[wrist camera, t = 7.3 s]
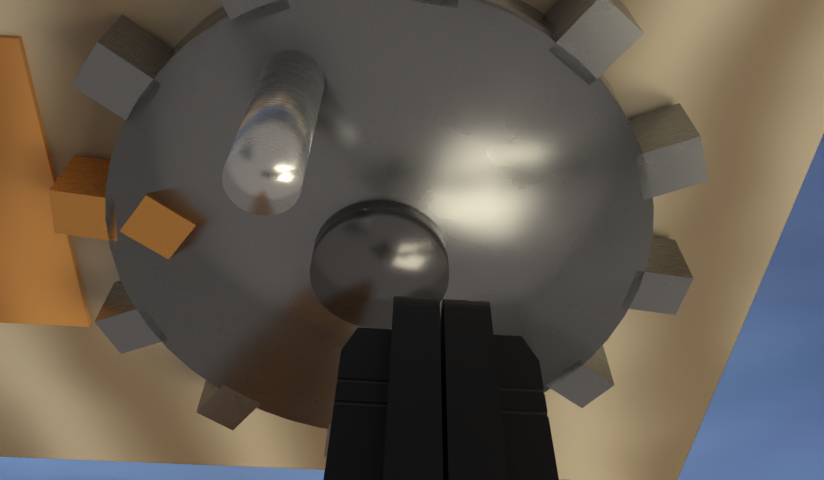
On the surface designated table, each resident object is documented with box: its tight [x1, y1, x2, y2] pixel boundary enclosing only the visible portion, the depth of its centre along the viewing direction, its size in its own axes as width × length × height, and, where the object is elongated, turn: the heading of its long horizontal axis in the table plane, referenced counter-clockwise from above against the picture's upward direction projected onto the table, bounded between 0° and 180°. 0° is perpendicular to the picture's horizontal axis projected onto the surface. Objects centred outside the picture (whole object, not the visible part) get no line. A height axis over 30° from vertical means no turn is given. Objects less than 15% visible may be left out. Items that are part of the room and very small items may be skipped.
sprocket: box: [49, 0, 708, 457], centre depth 22 cm, size 19×19×7 cm
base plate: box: [0, 0, 824, 480], centre depth 25 cm, size 30×26×2 cm
